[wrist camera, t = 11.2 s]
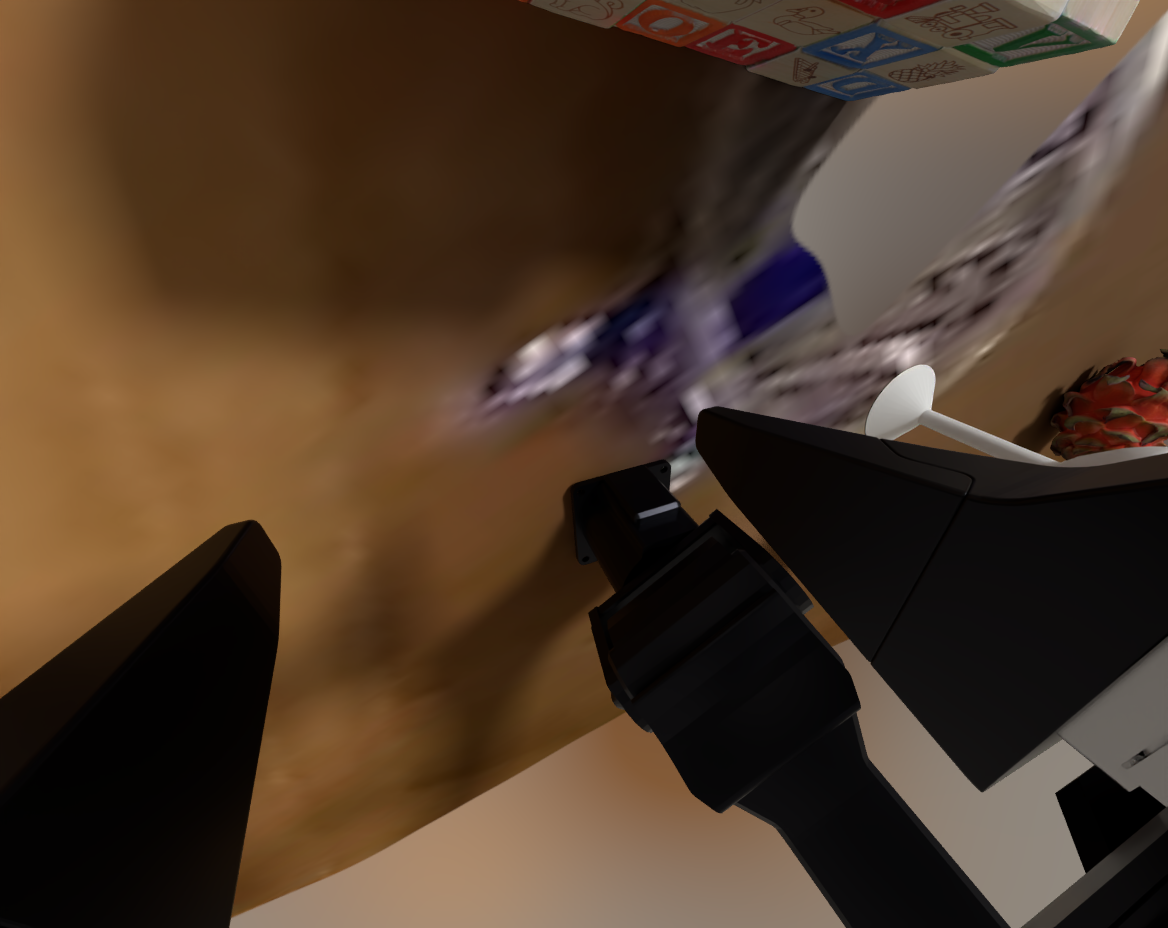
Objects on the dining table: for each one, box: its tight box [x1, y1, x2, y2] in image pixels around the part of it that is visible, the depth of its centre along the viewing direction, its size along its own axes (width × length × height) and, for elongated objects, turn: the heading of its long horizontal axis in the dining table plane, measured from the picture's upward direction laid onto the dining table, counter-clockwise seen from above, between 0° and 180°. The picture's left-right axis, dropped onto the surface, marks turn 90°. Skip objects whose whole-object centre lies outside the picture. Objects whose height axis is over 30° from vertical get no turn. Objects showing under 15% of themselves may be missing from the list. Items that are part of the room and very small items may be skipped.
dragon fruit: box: [1050, 349, 1168, 460], centre depth 40 cm, size 8×8×12 cm
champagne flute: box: [865, 365, 1168, 467], centre depth 24 cm, size 7×7×24 cm
